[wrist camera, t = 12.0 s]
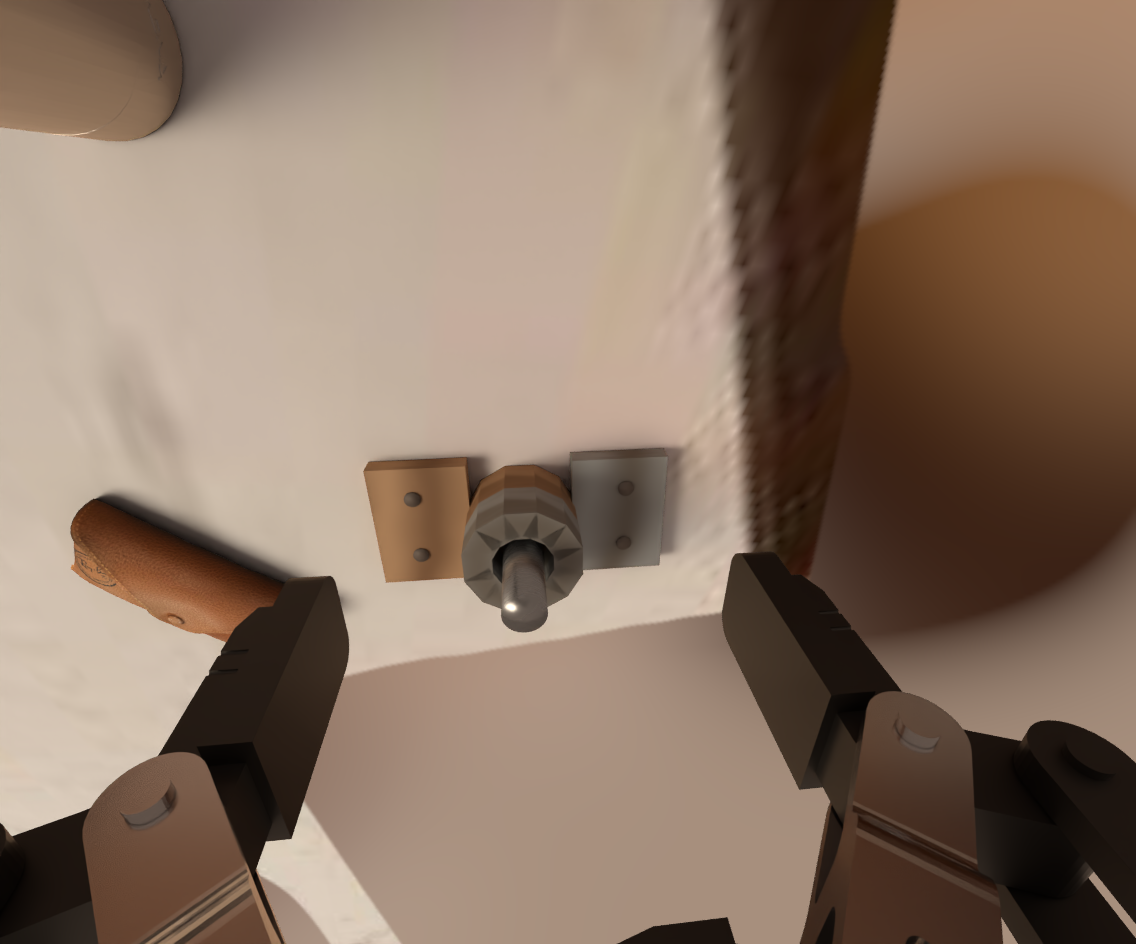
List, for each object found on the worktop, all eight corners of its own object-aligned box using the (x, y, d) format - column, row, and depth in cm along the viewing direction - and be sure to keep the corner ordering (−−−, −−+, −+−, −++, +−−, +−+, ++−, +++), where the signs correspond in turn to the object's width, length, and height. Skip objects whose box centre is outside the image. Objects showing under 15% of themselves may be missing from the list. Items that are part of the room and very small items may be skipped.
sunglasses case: (60, 572, 42) (13, 591, 36) (116, 493, 44) (79, 498, 38) (286, 661, 49) (279, 690, 42) (329, 589, 50) (328, 607, 44)
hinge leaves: (389, 571, 45) (370, 631, 39) (368, 462, 41) (342, 511, 34) (655, 554, 47) (676, 610, 41) (663, 448, 42) (689, 492, 36)
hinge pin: (505, 527, 44) (502, 633, 34) (503, 497, 43) (499, 598, 32) (539, 525, 44) (548, 630, 34) (538, 495, 43) (547, 595, 33)
